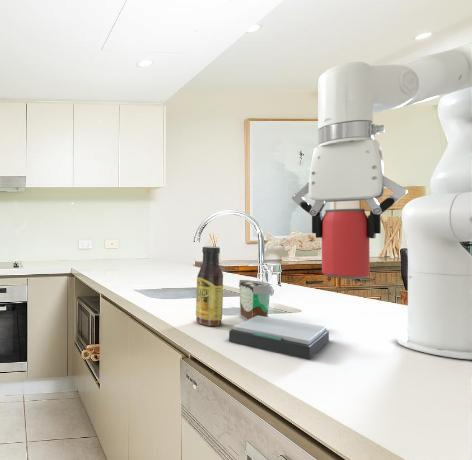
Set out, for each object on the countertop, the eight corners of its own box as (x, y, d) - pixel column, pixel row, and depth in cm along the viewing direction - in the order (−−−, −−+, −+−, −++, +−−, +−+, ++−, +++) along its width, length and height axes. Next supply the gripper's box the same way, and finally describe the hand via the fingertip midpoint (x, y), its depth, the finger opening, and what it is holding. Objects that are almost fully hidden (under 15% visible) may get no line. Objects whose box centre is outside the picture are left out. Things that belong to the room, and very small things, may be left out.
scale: (256, 327, 88) (256, 314, 88) (328, 341, 77) (329, 326, 77) (228, 341, 77) (229, 326, 77) (309, 359, 66) (309, 342, 66)
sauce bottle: (191, 320, 94) (191, 245, 94) (213, 320, 95) (214, 246, 95) (204, 327, 88) (205, 247, 88) (228, 327, 88) (228, 247, 88)
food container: (280, 326, 89) (281, 286, 89) (253, 325, 90) (254, 285, 90) (262, 315, 101) (262, 280, 101) (238, 314, 102) (238, 279, 102)
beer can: (323, 277, 62) (322, 209, 62) (320, 273, 68) (320, 210, 68) (373, 280, 59) (372, 207, 59) (366, 276, 64) (365, 209, 64)
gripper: (414, 131, 60) (414, 238, 60) (292, 148, 72) (293, 236, 72) (413, 122, 54) (413, 239, 54) (282, 142, 67) (282, 237, 67)
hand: (344, 236), depth 63 cm, fingers closed on beer can, 6 cm apart
